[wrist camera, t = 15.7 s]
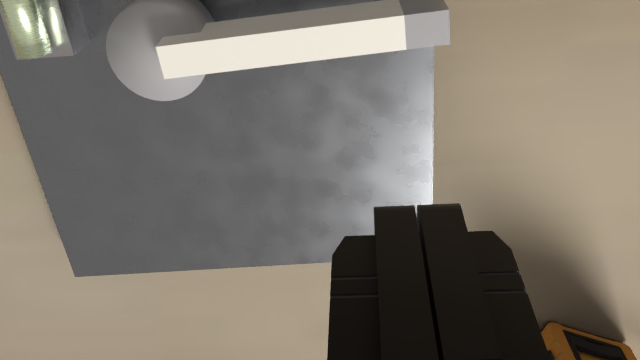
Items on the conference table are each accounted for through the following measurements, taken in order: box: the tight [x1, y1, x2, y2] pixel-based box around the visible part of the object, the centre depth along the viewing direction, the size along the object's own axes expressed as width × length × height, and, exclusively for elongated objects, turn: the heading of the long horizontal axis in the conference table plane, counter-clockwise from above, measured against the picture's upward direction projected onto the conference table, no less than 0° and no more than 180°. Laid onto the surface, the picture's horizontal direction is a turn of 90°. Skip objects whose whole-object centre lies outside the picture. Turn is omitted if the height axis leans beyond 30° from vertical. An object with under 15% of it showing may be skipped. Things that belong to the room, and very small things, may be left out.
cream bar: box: [106, 0, 450, 101], centre depth 30 cm, size 16×5×4 cm, turn 97°
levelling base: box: [0, 0, 434, 277], centre depth 34 cm, size 24×24×6 cm
